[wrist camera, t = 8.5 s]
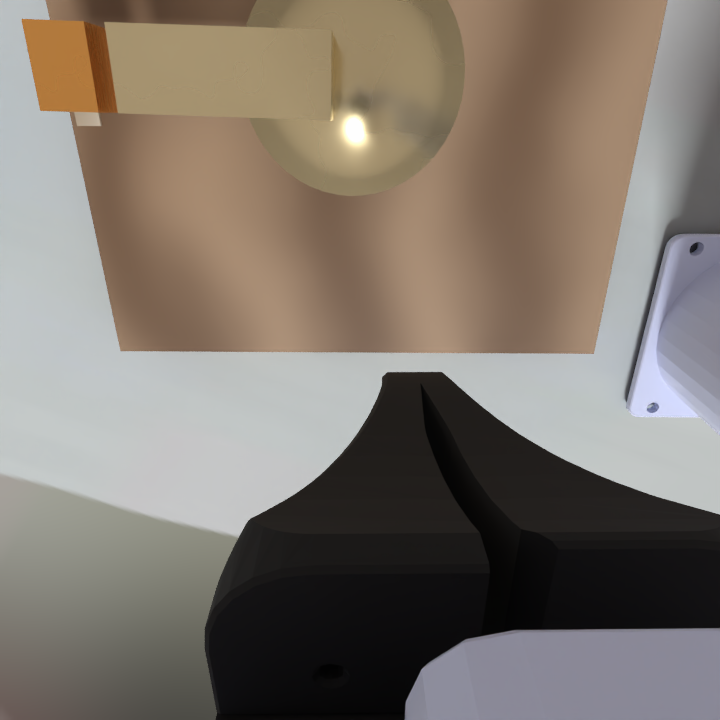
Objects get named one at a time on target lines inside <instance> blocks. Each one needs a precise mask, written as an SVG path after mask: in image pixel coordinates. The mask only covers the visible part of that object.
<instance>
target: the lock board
mask: <svg viewBox="0 0 720 720" xmlns="http://www.w3.org/2000/svg"><path fill="white" fill-rule="evenodd" d="M256 1H257V0H46V3H47V8H48V13H49V17H50V20H62V21H84V22H87V23H91V24H94V25H97V26H100V27H103V28H105V24H104V22H120V23H149V24H178V25H207V26H236V27H246V24H247V21H248V19H249V16H250V13H251V11H252V8H253V7H254V5H255V3H256ZM448 2H449V4H450V6H451V8H452V10H453V12H454V15H455V17H456V20H457V23H458V26H459V29H460V33H461V37H462V43H463V48H464V59H465V80H464V89H463V95H462V101H461V104H460V108H459V111H458V115H457V117H456V120H455V122H454V125H453V127H452V130H451V131H450V133H449V135H448V137H447V139H446V140H445V142H444V144H443V145H442V147H441V148H440V149H439V151H438V152H437V154H436V155H435V156H434V157H433V158H432V159H431V161H430V162H429V163H428V164H427V165H426V166H425V167H424V168H423V169H421V170H420V171H419V172H418V173H417V174H415V175H414V176H413V177H411V178H410V179H408V180H406V181H405V182H403V183H402V184H400V185H397V186H395V187H393V188H391V189H389V190H385V191H382V192H379V193H375V194H369V195H364V196H345V195H336V194H332V193H327V192H323V191H321V190H318V189H315V188H313V187H310V186H308V185H307V184H305V183H303V182H301V181H299V180H298V179H296V178H295V177H294V176H292V175H291V174H289V173H288V172H287V171H286V170H284V169H283V168H282V167H281V166H280V165H279V164H278V163H277V162H276V161H275V160H274V159H273V157H272V156H271V155H270V154H269V153H268V151H267V150H266V149H265V147H264V146H263V144H262V143H261V141H260V139H259V138H258V136H257V134H256V132H255V130H254V128H253V126H252V124H251V122H250V119H249V118H241V117H212V116H182V115H153V114H124V113H95V112H70V116H71V120H72V125H73V130H74V135H75V139H76V144H77V149H78V153H79V158H80V163H81V167H82V172H83V177H84V181H85V186H86V191H87V195H88V200H89V205H90V210H91V214H92V219H93V224H94V228H95V233H96V238H97V242H98V247H99V252H100V256H101V261H102V266H103V270H104V275H105V280H106V285H107V289H108V294H109V299H110V303H111V308H112V313H113V317H114V322H115V327H116V331H117V336H118V341H119V345H120V350H121V351H212V352H393V353H574V354H594V350H595V345H596V340H597V336H598V331H599V326H600V321H601V316H602V312H603V307H604V302H605V297H606V293H607V288H608V283H609V278H610V273H611V269H612V264H613V259H614V254H615V249H616V245H617V240H618V235H619V230H620V226H621V221H622V216H623V211H624V206H625V202H626V197H627V192H628V187H629V182H630V178H631V173H632V168H633V163H634V158H635V154H636V149H637V144H638V139H639V135H640V130H641V125H642V120H643V115H644V111H645V106H646V101H647V96H648V91H649V87H650V82H651V77H652V72H653V68H654V63H655V58H656V53H657V48H658V44H659V39H660V34H661V29H662V24H663V20H664V15H665V10H666V5H667V0H448Z"/></svg>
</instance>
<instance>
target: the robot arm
mask: <svg viewBox="0 0 720 720" xmlns="http://www.w3.org/2000/svg"><path fill="white" fill-rule="evenodd" d="M696 242H697V243H698V247H697V249H696V250H695V251H694V252H693V253H690V247H691V245H693V244H694V243H696ZM654 402H655V404H654V405H653V406H652V407H651V408H647V406H648V405H649V404H651V403H654ZM626 408H627V409H628V411H629V412H630V413H631V414H632V415H633V416H636V417H700V418H701V419H702V420H704V421H705V422H706V423H707V424H708V425H709V426H710V427H711V428H712V429H713V430H714V431H716V432H717V433H718V434H719V435H720V234H678V235H675V236H674V237H672V238H671V239H670V240H669V241H668V242H667V245H666V247H665V251H664V255H663V259H662V263H661V267H660V271H659V275H658V279H657V283H656V287H655V291H654V295H653V299H652V303H651V307H650V311H649V315H648V319H647V323H646V327H645V331H644V335H643V339H642V343H641V347H640V351H639V355H638V359H637V363H636V367H635V371H634V375H633V379H632V383H631V387H630V391H629V395H628V400H627V404H626ZM205 652H206V657H207V663H208V668H209V673H210V678H211V684H212V689H213V694H214V699H215V705H216V710H217V716H216V720H720V515H719V514H715V513H712V512H708V511H705V510H701V509H698V508H694V507H691V506H687V505H684V504H680V503H676V502H673V501H669V500H666V499H662V498H659V497H656V496H653V495H649V494H647V493H644V492H641V491H638V490H635V489H633V488H630V487H627V486H624V485H621V484H619V483H616V482H614V481H611V480H609V479H606V478H604V477H601V476H599V475H596V474H594V473H592V472H589V471H587V470H585V469H583V468H581V467H579V466H576V465H574V464H572V463H570V462H568V461H566V460H564V459H562V458H560V457H558V456H556V455H554V454H552V453H550V452H548V451H547V450H545V449H543V448H542V447H540V446H538V445H536V444H535V443H533V442H531V441H529V440H528V439H526V438H525V437H523V436H521V435H520V434H518V433H517V432H515V431H514V430H512V429H511V428H510V427H508V426H507V425H505V424H504V423H503V422H501V421H500V420H498V419H497V418H496V417H494V416H493V415H492V414H490V413H489V412H488V411H487V410H485V409H484V408H483V407H482V406H480V405H479V404H478V403H477V402H476V401H474V400H473V399H472V398H471V397H470V396H468V395H467V394H466V393H465V392H464V391H463V390H462V389H461V388H459V387H458V386H457V385H456V384H455V383H454V382H453V381H452V380H450V379H449V378H448V377H447V376H446V375H445V374H443V373H442V372H387V373H386V374H385V375H384V376H383V377H382V387H381V390H380V393H379V395H378V398H377V400H376V402H375V404H374V406H373V408H372V410H371V413H370V414H369V416H368V418H367V419H366V421H365V423H364V424H363V426H362V427H361V429H360V430H359V432H358V434H357V435H356V436H355V438H354V439H353V440H352V442H351V443H350V444H349V446H348V447H347V448H346V449H345V450H344V451H343V453H342V454H341V455H340V456H339V457H338V458H337V459H336V460H335V461H334V462H333V463H332V464H331V465H330V466H329V467H328V468H327V469H326V470H325V471H324V472H323V473H322V474H321V475H320V476H319V477H317V478H316V479H315V480H314V481H313V482H311V483H310V484H309V485H307V486H306V487H305V488H303V489H302V490H300V491H299V492H297V493H296V494H295V495H293V496H291V497H290V498H288V499H287V500H285V501H283V502H281V503H279V504H278V505H276V506H274V507H272V508H270V509H268V510H267V511H265V512H263V513H261V514H259V515H257V516H255V517H253V518H251V519H250V520H249V521H248V522H247V524H246V525H245V527H244V529H243V531H242V533H241V534H240V536H239V538H238V540H237V542H236V544H235V546H234V548H233V550H232V552H231V554H230V556H229V558H228V561H227V563H226V565H225V567H224V570H223V572H222V574H221V577H220V580H219V582H218V585H217V588H216V591H215V595H214V598H213V602H212V605H211V609H210V612H209V616H208V619H207V623H206V627H205Z"/></svg>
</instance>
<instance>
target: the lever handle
mask: <svg viewBox="0 0 720 720" xmlns="http://www.w3.org/2000/svg"><path fill="white" fill-rule="evenodd" d="M22 24H23V29H24V33H25V38H26V43H27V48H28V53H29V58H30V62H31V67H32V72H33V77H34V82H35V87H36V91H37V96H38V101H39V106H40V111H66V112H95V113H124V114H153V115H182V116H212V117H241V118H249V119H250V122H251V124H252V126H253V128H254V130H255V132H256V134H257V136H258V138H259V139H260V141H261V143H262V144H263V146H264V147H265V149H266V150H267V151H268V153H269V154H270V155H271V156H272V157H273V159H274V160H275V161H276V162H277V163H278V164H279V165H280V166H281V167H282V168H283V169H284V170H286V171H287V172H288V173H289V174H291V175H292V176H294V177H295V178H296V179H298V180H299V181H301V182H303V183H305V184H307V185H308V186H310V187H313V188H315V189H318V190H321V191H323V192H327V193H332V194H336V195H345V196H364V195H369V194H375V193H379V192H382V191H385V190H389V189H391V188H393V187H395V186H397V185H400V184H402V183H403V182H405V181H406V180H408V179H410V178H411V177H413V176H414V175H415V174H417V173H418V172H419V171H420V170H421V169H423V168H424V167H425V166H426V165H427V164H428V163H429V162H430V161H431V159H432V158H433V157H434V156H435V155H436V154H437V152H438V151H439V149H440V148H441V147H442V145H443V144H444V142H445V140H446V139H447V137H448V135H449V133H450V131H451V130H452V127H453V125H454V122H455V120H456V117H457V115H458V111H459V108H460V104H461V101H462V95H463V89H464V80H465V59H464V48H463V43H462V37H461V33H460V29H459V26H458V23H457V20H456V17H455V15H454V12H453V10H452V8H451V6H450V4H449V2H448V0H257V1H256V3H255V5H254V7H253V8H252V11H251V13H250V16H249V19H248V21H247V24H246V27H236V26H207V25H178V24H149V23H120V22H104V24H105V28H103V27H100V26H97V25H94V24H91V23H87V22H84V21H62V20H33V19H22Z"/></svg>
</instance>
